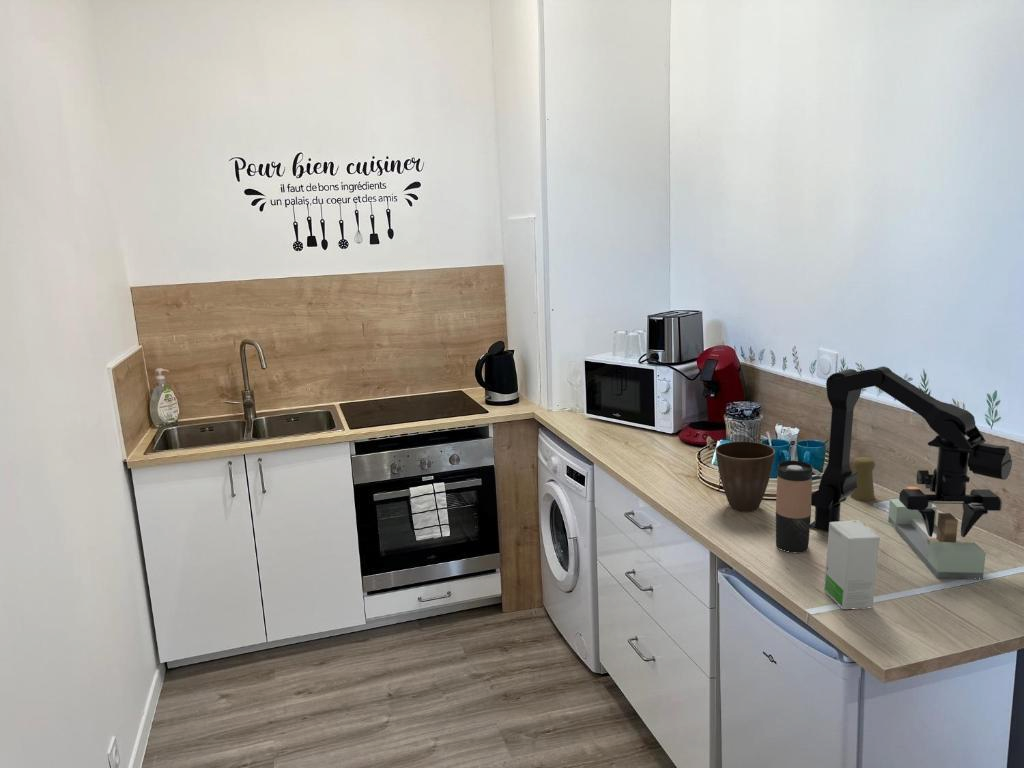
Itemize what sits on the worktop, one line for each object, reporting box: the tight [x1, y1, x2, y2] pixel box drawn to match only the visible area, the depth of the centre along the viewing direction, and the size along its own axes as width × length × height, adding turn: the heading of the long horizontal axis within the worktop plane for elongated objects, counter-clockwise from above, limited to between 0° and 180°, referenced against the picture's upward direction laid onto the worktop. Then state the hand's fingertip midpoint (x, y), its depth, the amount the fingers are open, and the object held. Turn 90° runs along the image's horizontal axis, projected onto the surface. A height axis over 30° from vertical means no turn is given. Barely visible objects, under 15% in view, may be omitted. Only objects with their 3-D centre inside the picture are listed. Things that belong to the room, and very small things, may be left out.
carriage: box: [926, 512, 960, 546], centre depth 166 cm, size 5×6×8 cm
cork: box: [849, 456, 876, 502], centre depth 205 cm, size 6×6×11 cm
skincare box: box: [823, 519, 881, 609], centre depth 152 cm, size 8×7×16 cm
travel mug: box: [775, 460, 813, 553], centre depth 176 cm, size 8×8×20 cm
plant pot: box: [715, 441, 776, 513], centre depth 201 cm, size 15×15×16 cm
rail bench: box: [887, 498, 986, 580], centre depth 173 cm, size 30×9×6 cm, turn 172°
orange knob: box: [906, 485, 922, 491], centre depth 184 cm, size 3×3×4 cm
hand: (946, 536), depth 166 cm, fingers open, 6 cm apart
